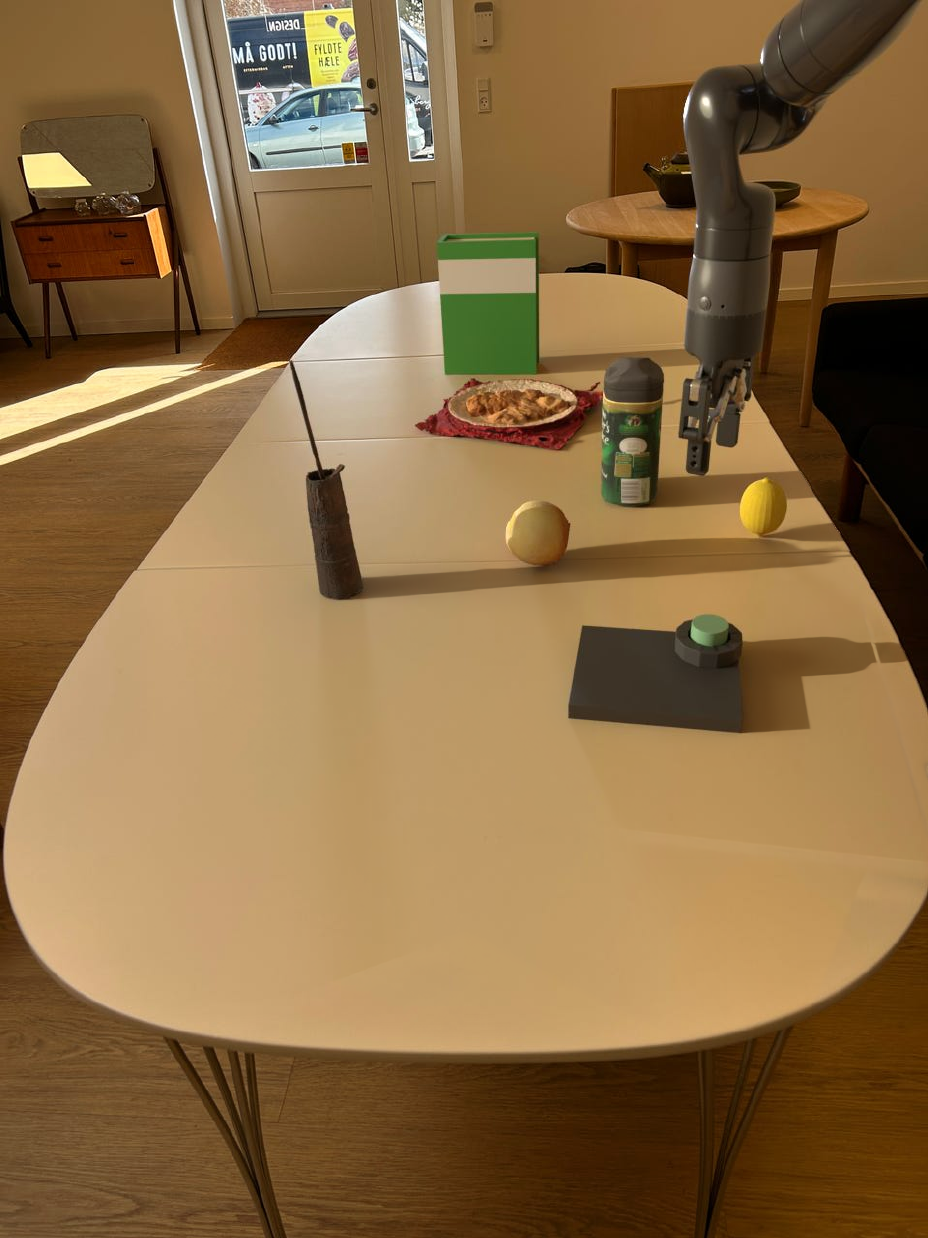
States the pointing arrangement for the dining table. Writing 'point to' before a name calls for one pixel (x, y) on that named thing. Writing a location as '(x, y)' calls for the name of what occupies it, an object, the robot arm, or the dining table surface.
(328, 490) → the butter churn
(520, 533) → the fruit
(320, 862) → the dining table surface
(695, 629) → the button
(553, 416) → the plate with food
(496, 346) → the hardback book
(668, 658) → the dark grey button base
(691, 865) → the dining table surface
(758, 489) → the lemon
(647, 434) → the coffee jar
